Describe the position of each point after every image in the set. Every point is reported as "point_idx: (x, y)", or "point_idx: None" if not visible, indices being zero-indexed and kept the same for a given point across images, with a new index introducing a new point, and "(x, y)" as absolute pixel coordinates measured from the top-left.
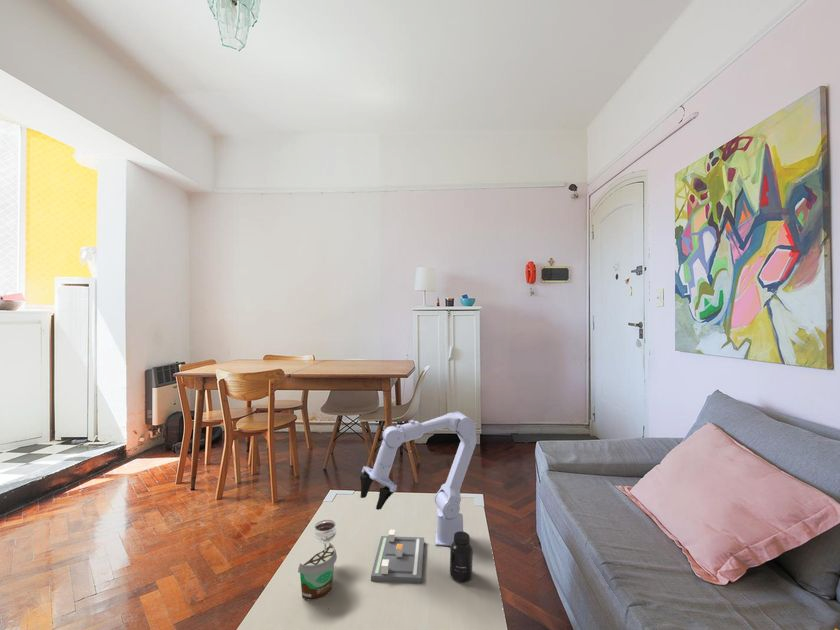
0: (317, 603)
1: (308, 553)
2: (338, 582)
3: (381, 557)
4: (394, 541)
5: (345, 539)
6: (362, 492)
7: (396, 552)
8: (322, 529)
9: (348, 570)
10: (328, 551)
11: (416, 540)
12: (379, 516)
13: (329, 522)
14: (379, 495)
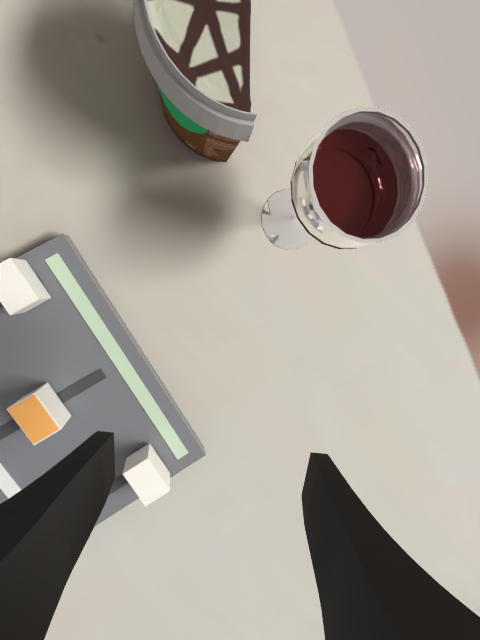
0: None
1: None
2: (170, 164)
3: (104, 346)
4: None
5: (324, 367)
6: (326, 486)
7: (37, 389)
8: (381, 209)
9: (186, 236)
10: (217, 75)
11: None
12: None
13: (378, 235)
14: (19, 533)
